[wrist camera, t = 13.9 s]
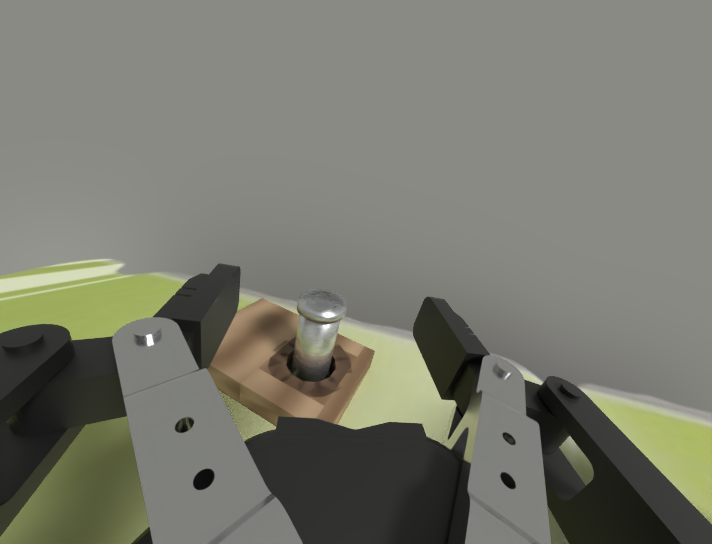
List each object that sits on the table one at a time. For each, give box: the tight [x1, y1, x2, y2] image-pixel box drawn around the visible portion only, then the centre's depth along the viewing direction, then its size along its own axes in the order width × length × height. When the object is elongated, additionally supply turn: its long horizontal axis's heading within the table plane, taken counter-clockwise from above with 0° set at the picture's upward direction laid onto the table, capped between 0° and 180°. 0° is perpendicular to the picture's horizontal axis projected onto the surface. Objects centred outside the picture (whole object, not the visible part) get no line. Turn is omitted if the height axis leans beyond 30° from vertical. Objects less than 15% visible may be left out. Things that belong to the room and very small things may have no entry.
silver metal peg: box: [291, 289, 347, 382], centre depth 31 cm, size 5×5×12 cm
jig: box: [208, 298, 375, 426], centre depth 34 cm, size 20×14×3 cm
